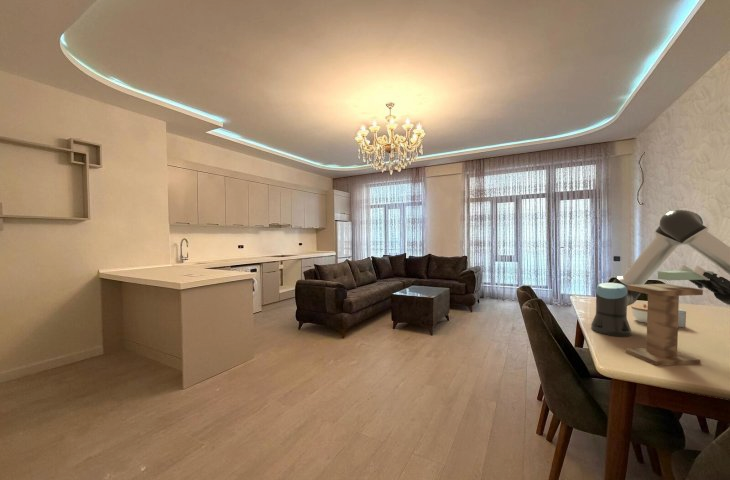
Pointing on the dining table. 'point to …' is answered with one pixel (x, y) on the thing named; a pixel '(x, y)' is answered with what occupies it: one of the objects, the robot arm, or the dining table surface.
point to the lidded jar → (640, 312)
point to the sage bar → (680, 275)
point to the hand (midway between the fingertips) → (688, 268)
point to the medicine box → (681, 318)
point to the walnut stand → (663, 324)
